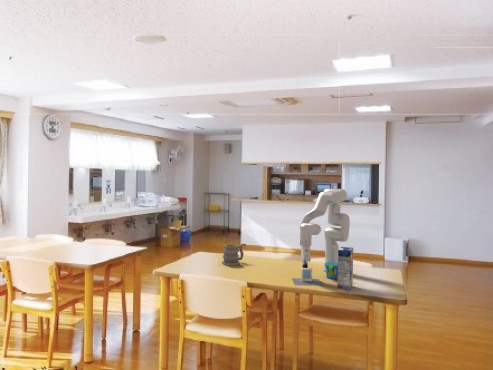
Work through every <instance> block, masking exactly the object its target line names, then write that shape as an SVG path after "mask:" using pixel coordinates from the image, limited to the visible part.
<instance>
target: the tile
mask: <svg viewBox="0 0 493 370" xmlns="http://www.w3.org/2000/svg"><path fill="white" fill-rule="evenodd" d="M300 278H301V281H312V279H313V267H308V268H302V267H301V268H300Z"/></svg>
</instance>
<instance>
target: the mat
mask: <svg viewBox="0 0 493 370" xmlns="http://www.w3.org/2000/svg"><path fill="white" fill-rule="evenodd" d="M291 281H292V282H293V284H294V286H307V287H311V286H316V287H317V286H318V287H324V286H325V285H324V284H323V282H322V281H321V280H320V279H319V278H312V281H301V277H300V278H295V277H294V278H293V277H292V278H291Z"/></svg>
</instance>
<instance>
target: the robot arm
mask: <svg viewBox="0 0 493 370" xmlns="http://www.w3.org/2000/svg"><path fill="white" fill-rule="evenodd" d="M347 196H348V192H347V191H346V189H343V188H325V189H324V190H323V191H321V192H320V193H319V194H318V197H317V199H316V201H315V204H314V206H313V209H312V210H310V211H308V212H307V213H306V214H305V215H304V216H303V218H302V220H301V223H300V226H299V233H300V234H299V246H301V249H300V250H301V251H300V252H301V253H300V254H301V255H300V258H301V260H302V267H301V268H309V265H308V263H309V262H311V246H312V240H313V239H312V238H313V237H312V236H318V235H320V233H321V232H322V227H321V225H319V224H317V223H312V221H313V220H314V219H316V218H319V217H322V216H324V215H325V214H326V211H327V209H328V213H327V224H328V225H330V226H331V227H326V228H325V229H324V234H323V235H324V240H325V248H324V249H325V251H324V253H325V254H324V264H325V263H326V262H335V263H338V249H340V247H339V244H338V242H341V243H342V242H343V243H344V242H347V241H348V240H349V235H350V225H351V224H350V223H351V220H350V219H351V218H350V216H349V214H347V213H345V212H343V213H342V212H341V204H340V203H343V202H344V201H346V199H347ZM333 226H335V227H333ZM322 271H324V272H326V269H325V266H324V267H322Z"/></svg>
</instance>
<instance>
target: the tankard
mask: <svg viewBox="0 0 493 370" xmlns="http://www.w3.org/2000/svg"><path fill="white" fill-rule="evenodd" d="M223 246H224V247H223V248H222V249H223V250H222V252H223V255H222V259H223V260H222V261H221V264H222V265H224V266H238V265H240V263H241V262H240V261H242V260H243V258H244V251H243V247H246V246H247V244H245V243H240V244H239V245H237V244H225V245H223ZM239 253H240V255H239Z"/></svg>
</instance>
